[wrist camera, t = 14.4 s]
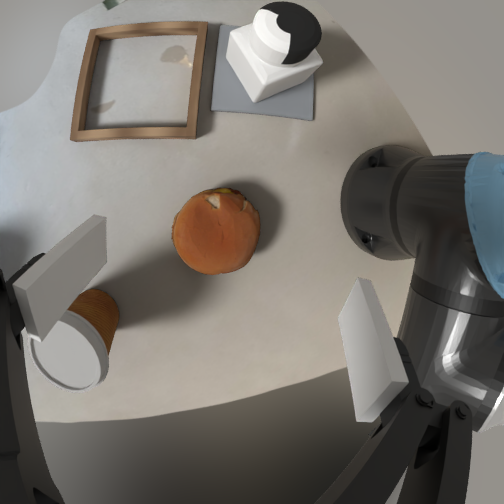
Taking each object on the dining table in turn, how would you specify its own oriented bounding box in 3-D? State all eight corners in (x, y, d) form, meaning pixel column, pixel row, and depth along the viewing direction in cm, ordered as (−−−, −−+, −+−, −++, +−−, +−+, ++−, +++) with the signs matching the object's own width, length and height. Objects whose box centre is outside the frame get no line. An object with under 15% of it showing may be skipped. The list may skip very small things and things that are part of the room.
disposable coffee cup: (131, 282, 35) (101, 324, 23) (131, 348, 37) (109, 404, 25) (64, 271, 33) (17, 306, 22) (69, 336, 35) (33, 384, 24)
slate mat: (312, 39, 31) (314, 37, 31) (311, 120, 34) (312, 120, 33) (220, 26, 30) (220, 24, 29) (211, 111, 32) (211, 109, 32)
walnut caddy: (207, 29, 29) (207, 21, 27) (195, 139, 33) (194, 136, 31) (94, 35, 27) (90, 29, 25) (76, 142, 30) (69, 140, 28)
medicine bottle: (276, 37, 30) (303, -14, 19) (304, 82, 32) (344, 44, 21) (224, 57, 30) (233, 5, 19) (253, 104, 32) (275, 68, 20)
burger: (196, 281, 36) (194, 294, 32) (161, 211, 34) (154, 215, 30) (270, 246, 37) (278, 254, 32) (238, 175, 34) (242, 173, 30)
